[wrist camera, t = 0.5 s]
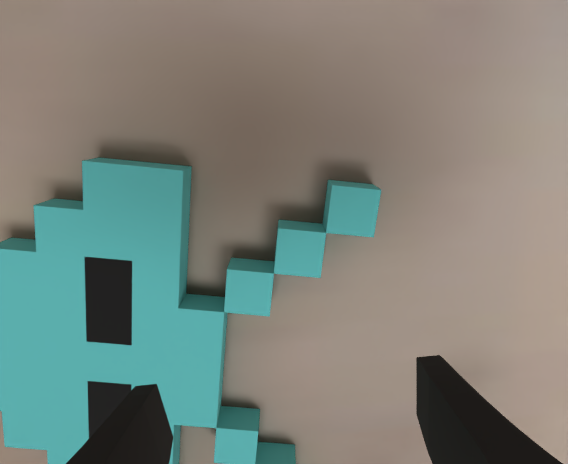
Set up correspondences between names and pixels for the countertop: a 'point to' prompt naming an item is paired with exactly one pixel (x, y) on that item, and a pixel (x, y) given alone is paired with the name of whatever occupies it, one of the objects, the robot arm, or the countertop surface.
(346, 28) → the countertop surface
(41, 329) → the alien figure
